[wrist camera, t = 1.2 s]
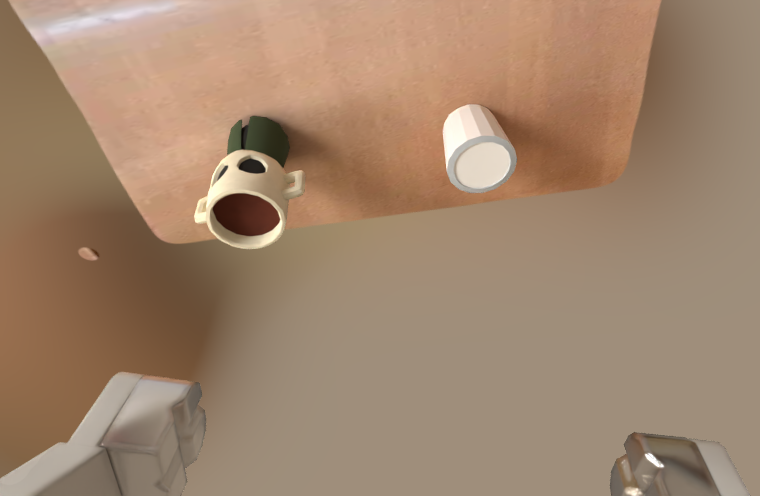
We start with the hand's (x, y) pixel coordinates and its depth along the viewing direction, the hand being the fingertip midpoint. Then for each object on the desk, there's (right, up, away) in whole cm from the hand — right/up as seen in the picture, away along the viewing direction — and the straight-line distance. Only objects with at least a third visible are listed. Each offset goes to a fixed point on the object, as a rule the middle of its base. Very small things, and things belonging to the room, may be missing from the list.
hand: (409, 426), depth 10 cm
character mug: (-13, +15, +47) cm, 51 cm away
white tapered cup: (+9, +16, +47) cm, 51 cm away
